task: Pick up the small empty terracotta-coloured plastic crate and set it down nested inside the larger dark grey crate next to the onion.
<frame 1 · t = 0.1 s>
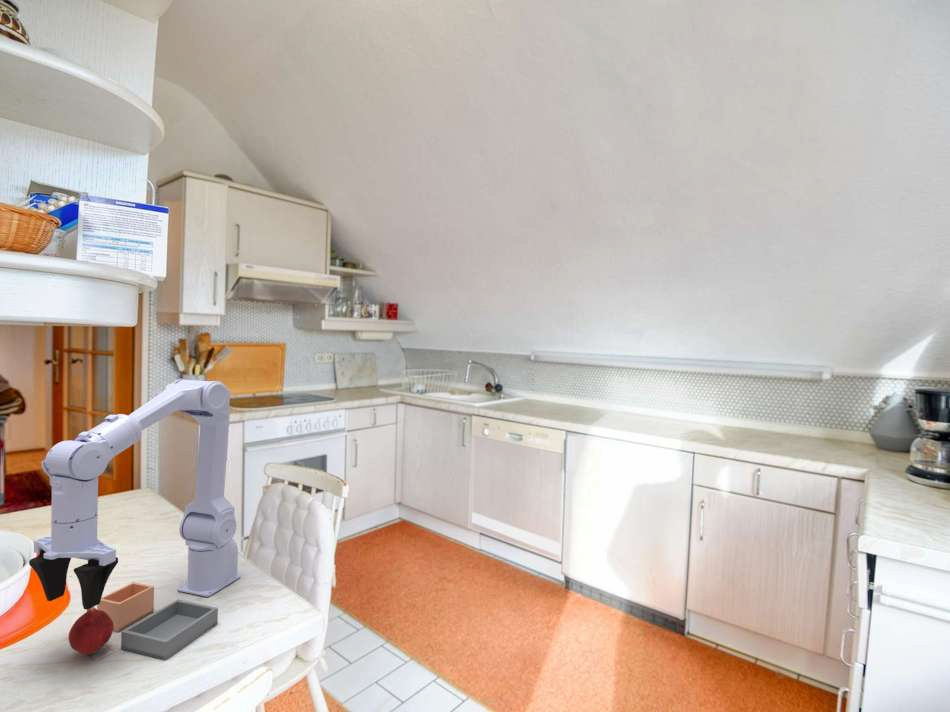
hand: (73, 602, 79), 10 cm above the table, tool pointing down, fingers open, 7 cm apart
big crate: (171, 636, 88), on the table
onion: (90, 655, 82), on the table
small crate: (126, 619, 93), on the table
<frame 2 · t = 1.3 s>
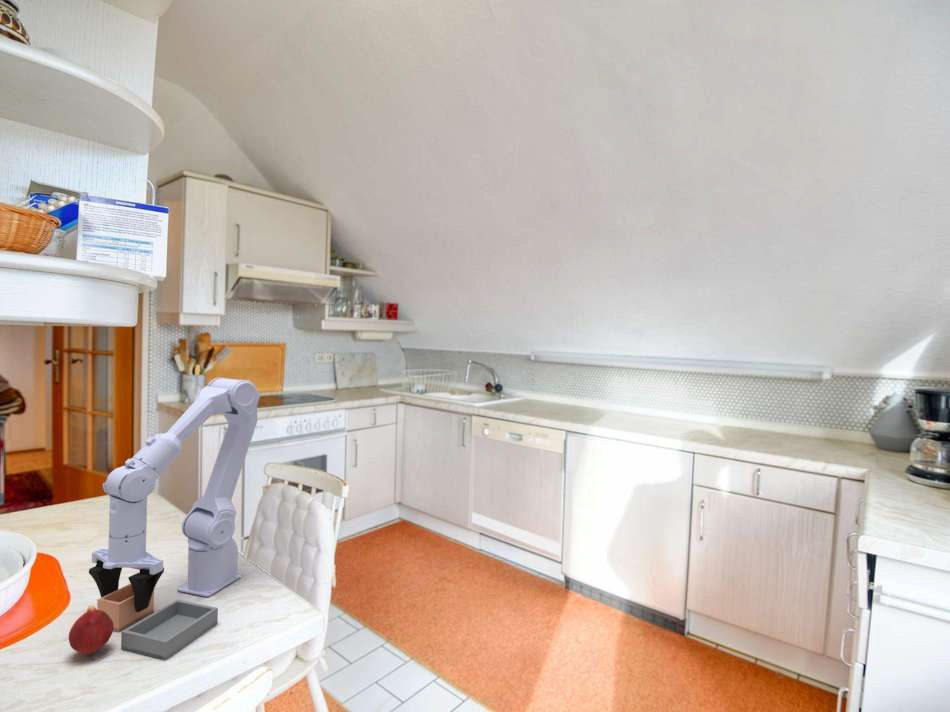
hand: (125, 605, 92), 3 cm above the table, tool pointing down, fingers open, 7 cm apart
nothing on the table moved.
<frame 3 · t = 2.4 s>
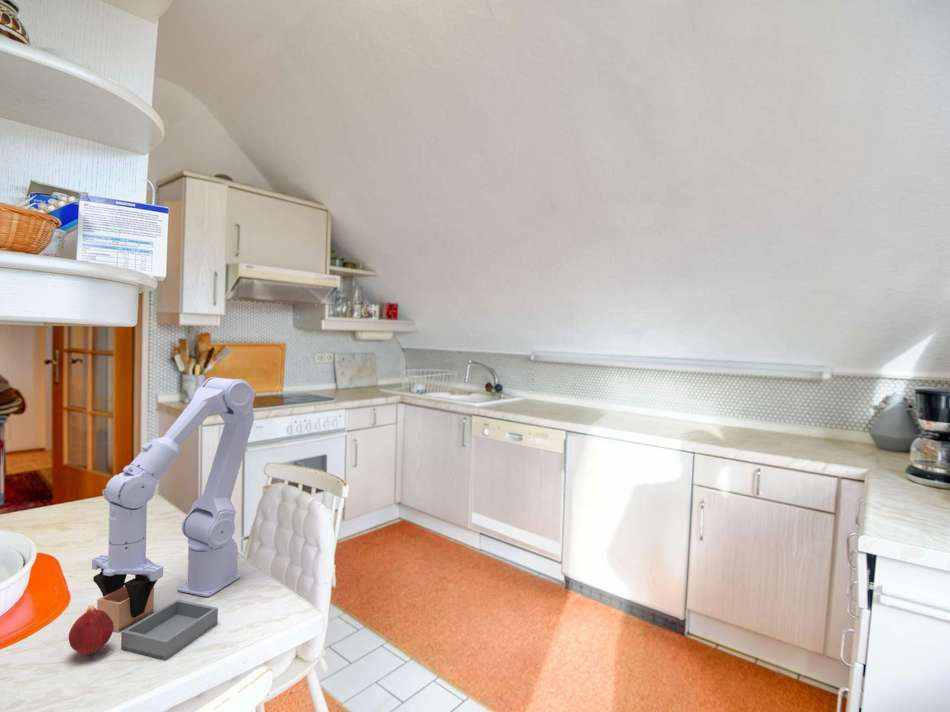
hand: (126, 611, 93), 1 cm above the table, tool pointing down, fingers closed on small crate, 5 cm apart
small crate: (126, 619, 93), on the table, touching gripper
everything else where it was.
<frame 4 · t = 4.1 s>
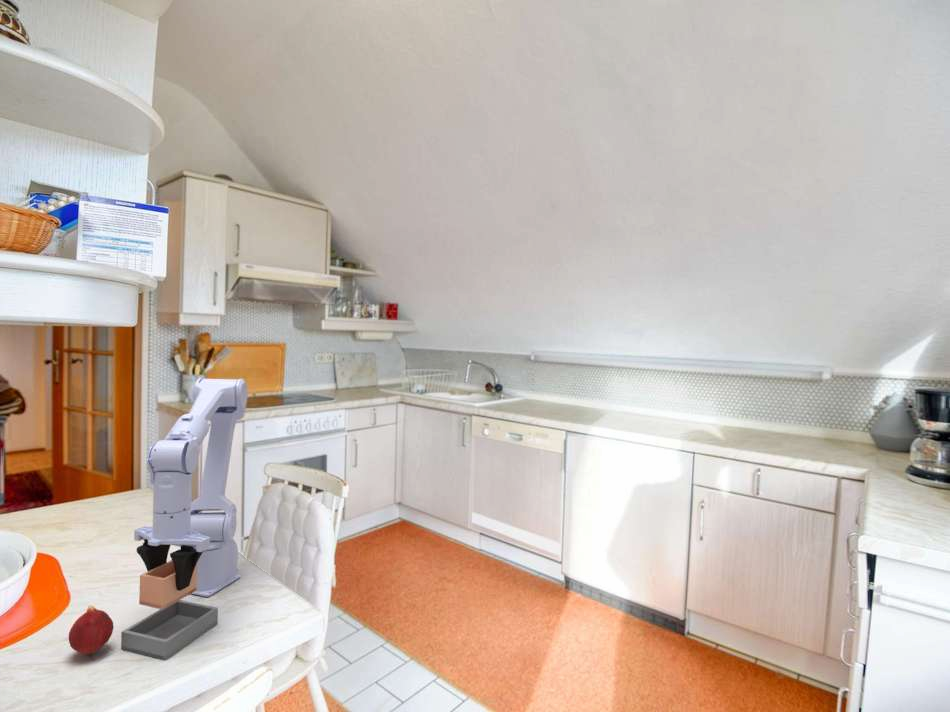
hand: (170, 585, 88), 9 cm above the table, tool pointing down, fingers closed on small crate, 5 cm apart
small crate: (168, 597, 88), point 7 cm above the table, touching gripper
everything else where it was.
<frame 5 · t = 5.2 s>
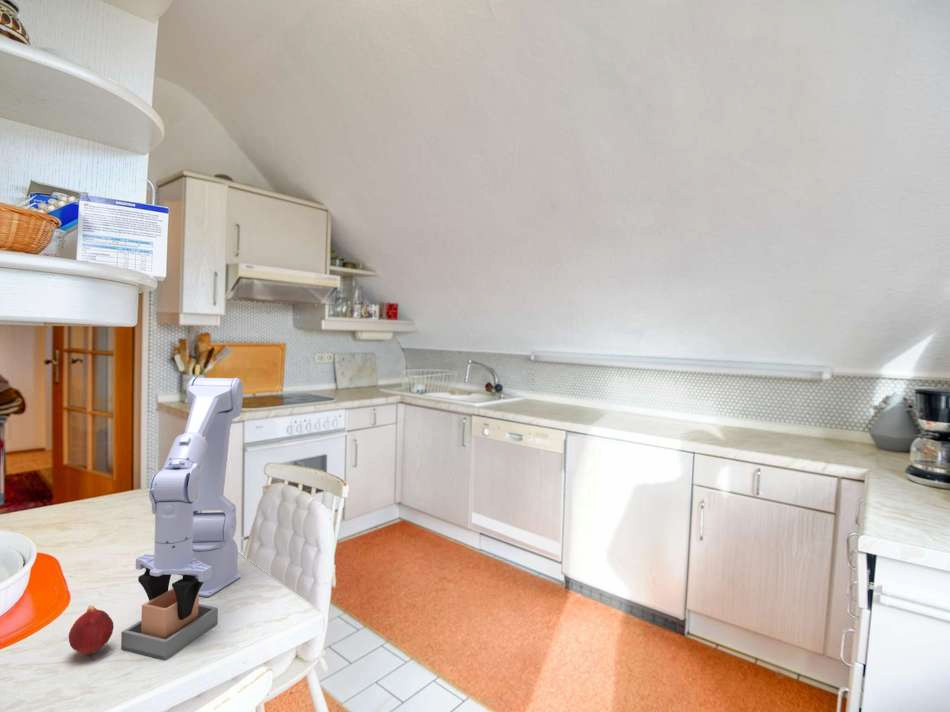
hand: (172, 614, 88), 4 cm above the table, tool pointing down, fingers closed on small crate, 5 cm apart
small crate: (170, 626, 88), point 2 cm above the table, touching gripper
everything else where it was.
when the fingers open (4 cm above the table, at t = 6.0 s): small crate drops 1 cm, resting on big crate.
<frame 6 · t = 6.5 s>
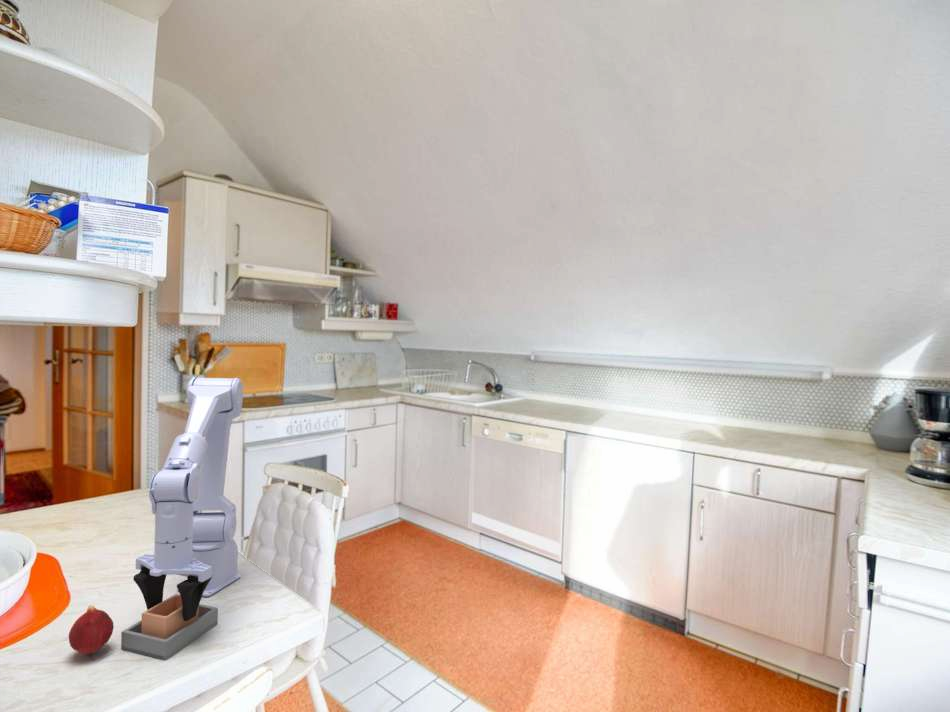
hand: (172, 614, 88), 4 cm above the table, tool pointing down, fingers open, 7 cm apart
small crate: (170, 633, 88), point 1 cm above the table, touching big crate
everything else where it was.
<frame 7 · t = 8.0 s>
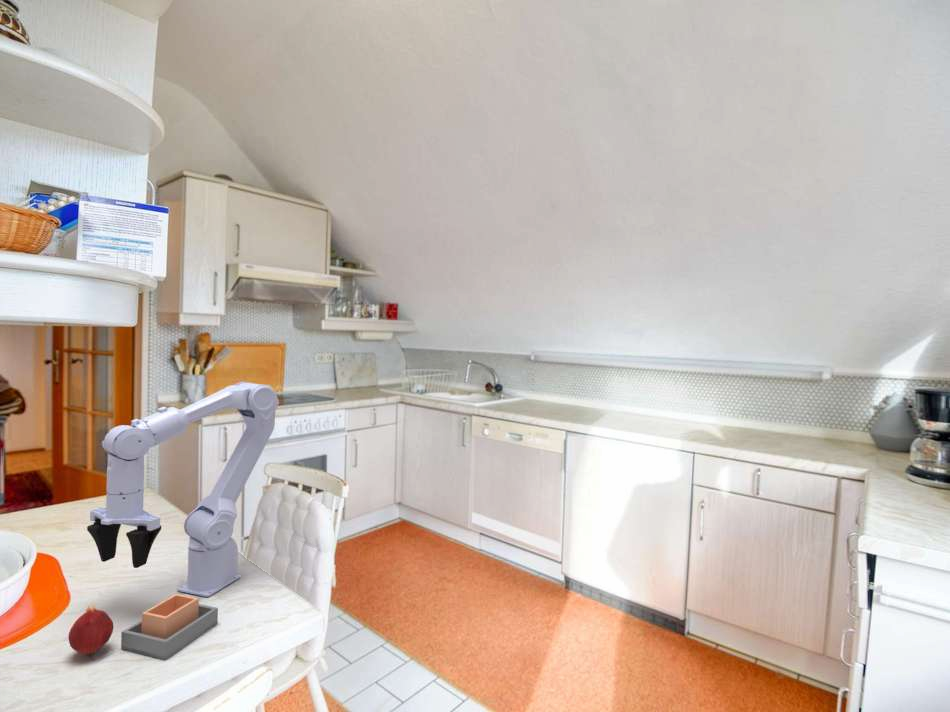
hand: (123, 562, 94), 10 cm above the table, tool pointing down, fingers open, 7 cm apart
nothing on the table moved.
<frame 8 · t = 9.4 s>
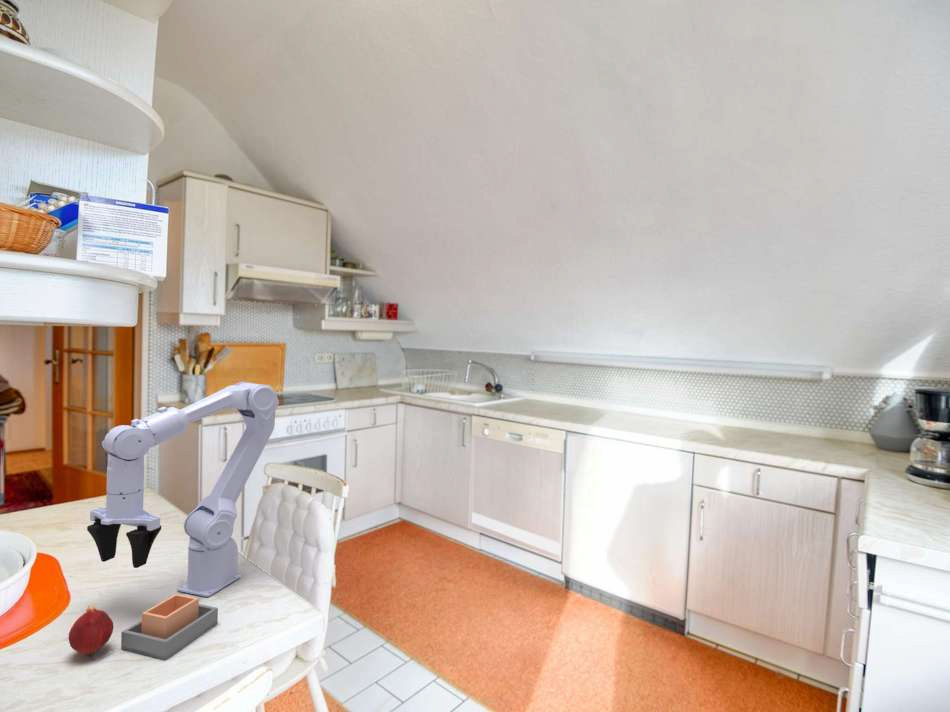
hand: (123, 562, 94), 10 cm above the table, tool pointing down, fingers open, 7 cm apart
nothing on the table moved.
at the end: small crate 0.3 cm off-centre on the big crate, point 0.6 cm above the big crate's base; small crate tilted 0°; the gripper is holding nothing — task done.
